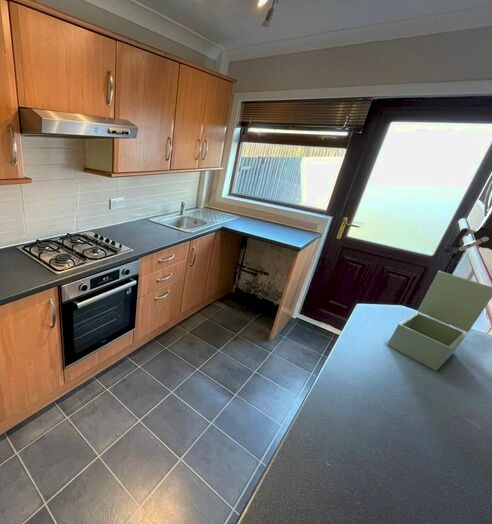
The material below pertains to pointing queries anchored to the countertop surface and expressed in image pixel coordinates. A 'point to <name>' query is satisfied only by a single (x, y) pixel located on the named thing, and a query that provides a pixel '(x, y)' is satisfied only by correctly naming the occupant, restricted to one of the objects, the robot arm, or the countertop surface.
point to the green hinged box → (426, 340)
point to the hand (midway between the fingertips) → (476, 267)
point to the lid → (455, 300)
